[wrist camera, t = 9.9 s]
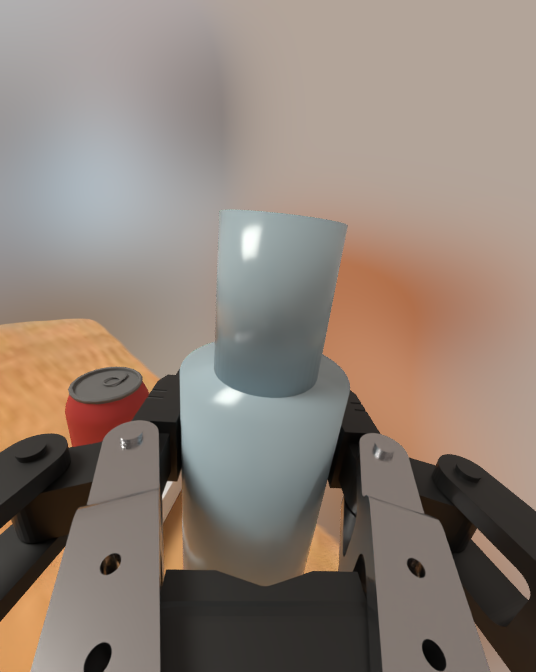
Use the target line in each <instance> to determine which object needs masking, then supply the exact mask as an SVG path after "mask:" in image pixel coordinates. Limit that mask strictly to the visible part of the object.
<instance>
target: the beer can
mask: <svg viewBox="0 0 536 672" xmlns="http://www.w3.org/2000/svg"><path fill="white" fill-rule="evenodd" d="M68 390H69V397H68V400H67V403H66V408H65V414H66V419H67V424H68V429H69V433H70V438H71V443H72V447H76V446H81V445H87V444H93V443H98V442H101V441H103V439H104V437H105V436H106V435H107V433H108V432H110V431H111V430H112V429H113V428H115V427H117V426H119V425H121V424H123V423H126V422H130V421H131V420H132V419H133V417H134V416H135V414H136V413H137V411H138V410H139V408H140V407H141V406H142V404H143V403H144V401H145V400H146V398H148V395H149V392H148V389H147V388H146V386H145V384H144V383H143V381H142V376H141V374H140V373H139V372H137V371H136V370H134V369H130V368H126V367H107V368H102V369H97V370H94V371H91V372H88V373H86V374H84V375H82V376H80V377H78V378H77V379H76V380H75V381H73V382H72V383H71V385H70V387H69V389H68Z"/></svg>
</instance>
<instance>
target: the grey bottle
mask: <svg viewBox="0 0 536 672" xmlns="http://www.w3.org/2000/svg"><path fill="white" fill-rule="evenodd" d="M346 231H347V225H346V224H344V223H340V222H336V221H331V220H325V219H320V218H314V217H306V216H299V215H291V214H283V213H273V212H262V211H249V210H221V211H219V238H218V239H219V240H218V266H217V267H218V268H217V294H216V322H215V324H216V325H215V342H212V343H209V344H206V345H204V346H202V347H199V348H198V349H196V350H194V351H193V352H191V353H190V354H189V355H188V356H187V357H186V358H185V359H184V361H183V362H182V364H181V367H180V420H181V477H182V534H183V570H217V571H220V572H222V573H225V574H228V575H231V576H234V577H237V578H240V579H243V580H246V581H249V582H252V583H254V584H257V585H260V586H270V585H273V584H276V583H279V582H282V581H285V580H288V579H291V578H294V577H297V576H300V575H303V574H304V570H305V566H306V562H307V558H308V554H309V550H310V546H311V542H312V538H313V535H314V531H315V527H316V523H317V519H318V515H319V511H320V507H321V502H322V499H323V495H324V491H325V487H326V483H327V479H328V475H329V471H330V468H331V464H332V460H333V456H334V452H335V448H336V444H337V440H338V436H339V432H340V428H341V424H342V420H343V416H344V412H345V408H346V405H347V401H348V397H349V392H350V383H349V380H348V377H347V376H346V374H345V372H344V371H343V370H342V369H341V368H340V367H339V366H338V365H337V364H336V363H335V362H334V361H332V360H331V359H329V358H328V357H326V356H324V355H323V354H322V352H323V347H324V342H325V337H326V332H327V327H328V322H329V317H330V312H331V307H332V302H333V297H334V292H335V286H336V282H337V277H338V272H339V267H340V261H341V257H342V251H343V246H344V241H345V236H346Z"/></svg>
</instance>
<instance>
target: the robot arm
mask: <svg viewBox="0 0 536 672" xmlns="http://www.w3.org/2000/svg"><path fill="white" fill-rule="evenodd" d="M180 472H181V420H180V369H179V371H178V373H177V374H176V375H167V376H165V377H164V378H162V379H160V380H159V381H158V382H157V383H156V385H155V386H154V388H153V389H152V391H151V392H150V394H149V395H148V398H146V400H145V401H144V403H143V404H142V406H141V407H140V408H139V410H138V411H137V413H136V414H135V416H134V417H133V419H132V420H131V421H130V422H126V423H123V424H121V425H119V426H117V427H115V428H113V429H112V430H111V431H110V432H108V433H107V435H106V436H105V437H104V439H103V441H101V442H98V443H93V444H87V445H81V446H76V447H70V448H68V443H67V440H66V439H65V437H63V436H61V435H59V434H41V435H36V436H32V437H29V438H26V439H24V440H21V441H19V442H17V443H15V444H13V445H12V446H10V447H8V448H7V449H5V450H4V451H2V452H0V528H1V527H3V526H4V525H5V524H6V523H7V522H8V521H9V520H11V521H12V523H13V524H12V525H11V526H10V527H9V528H8V529H6V530H5V531H4V532H3V533H2V534H1V535H0V621H1V620H2V619H3V618H4V617H5V616H6V614H7V613H8V612H9V611H10V610H11V609H12V608H13V606H14V605H15V604H16V603H17V602H18V601H19V599H20V598H21V597H22V596H23V595H24V594H25V592H26V591H27V590H28V589H29V588H30V587H31V585H32V584H33V583H34V582H35V581H36V580H37V578H38V577H39V576H40V575H41V574H42V573H43V572H44V570H45V569H46V568H47V567H48V566H49V565H50V563H51V562H52V561H53V560H54V559H55V558H56V556H57V555H58V554H59V553H60V552H61V551H62V549H63V548H64V547H65V550H64V554H63V557H62V561H61V564H60V568H59V571H58V575H57V579H56V582H55V586H54V589H53V593H52V596H51V600H50V604H49V607H48V611H47V614H46V618H45V621H44V625H43V629H42V632H41V636H40V639H39V643H38V646H37V650H36V654H35V657H34V661H33V664H32V668H31V671H30V672H490V669H489V666H488V663H487V660H486V657H485V654H484V651H483V648H482V644H481V641H480V639H479V635H478V633H477V629H476V626H475V624H476V625H477V626H478V628H479V629H480V630H481V632H482V633H483V634H484V636H485V637H486V639H487V640H488V641H489V643H490V644H491V645H492V647H493V648H494V649H495V651H496V652H497V653H498V655H499V656H500V657H501V659H502V660H503V661H504V663H505V664H506V666H507V667H508V668H509V670H510V671H511V672H536V511H534V510H533V509H532V508H531V507H530V506H529V505H527V504H526V503H525V502H524V501H522V500H521V499H520V498H519V497H517V496H516V495H515V494H514V493H512V492H511V491H510V490H509V489H507V488H506V487H505V486H504V485H502V484H501V483H500V482H499V481H497V480H496V479H495V478H494V477H492V476H491V475H490V474H489V473H488V472H486V471H485V470H484V469H482V468H481V467H480V466H478V465H477V464H475V463H473V462H472V461H470V460H467V459H465V458H463V457H460V456H456V455H452V454H451V455H450V454H447V455H442V456H441V457H440V458H439V459H438V462H437V464H436V466H435V465H432V464H429V463H425V462H422V461H419V460H415V459H412V458H409V457H408V455H407V452H406V451H405V449H404V448H403V447H402V446H401V445H400V444H399V443H397V442H396V441H394V440H393V439H391V438H389V437H387V436H384V435H381V434H380V432H379V431H378V430H377V428H376V426H375V424H374V423H373V421H372V420H371V418H370V416H369V415H368V413H367V412H365V408H364V407H363V405H361V402H360V401H359V399H358V398H357V396H356V394H354V393H353V392H352V391H351V390H350V392H349V397H348V401H347V405H346V408H345V412H344V416H343V420H342V424H341V428H340V432H339V436H338V440H337V444H336V448H335V452H334V456H333V460H332V464H331V468H330V471H329V475H328V482H329V486H330V488H342V491H343V494H344V496H343V499H342V503H341V519H340V520H341V521H340V547H339V568H338V571H312V572H309V573H306V574H303V575H300V576H297V577H294V578H291V579H288V580H285V581H282V582H279V583H276V584H273V585H270V586H260V585H257V584H254V583H252V582H249V581H246V580H243V579H240V578H237V577H234V576H231V575H228V574H225V573H222V572H220V571H217V570H166V573H165V577H164V544H163V503H162V494H163V492H164V489H165V486H166V484H167V481H175V482H177V481H178V478H179V475H180ZM477 528H478V529H479V530H480V531H481V532H482V533H483V534H484V536H486V538H487V539H488V540H489V541H490V542H491V543H492V544H493V545H494V546H495V547H496V548H497V549H498V550H499V551H500V552H501V553H502V554H503V555H504V556H505V557H506V558H507V559H508V560H509V561H510V562H511V563H512V564H513V565H514V566H515V567H516V568H517V569H518V570H519V572H520V573H521V574H522V575H523V577H524V578H525V579H526V581H527V583H528V586H529V588H530V594H531V595H530V599H529V600H528V599H526V598H525V597H524V596H523V595H522V594H521V593H520V592H519V591H518V589H517V588H516V587H515V586H514V585H513V584H512V583H511V582H510V581H509V580H508V579H507V577H505V575H504V574H503V573H502V572H501V571H500V570H499V569H498V568H497V567H496V566H495V565H494V563H493V562H492V561H491V560H490V559H489V558H488V557H487V556H486V555H485V554H484V553H483V552H482V550H480V548H479V547H478V546H477V545H476V544H475V543H474V542H473V541H472V540H471V538H472V536H473V534H474V533H475V531H476V529H477ZM474 622H475V623H474Z"/></svg>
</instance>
